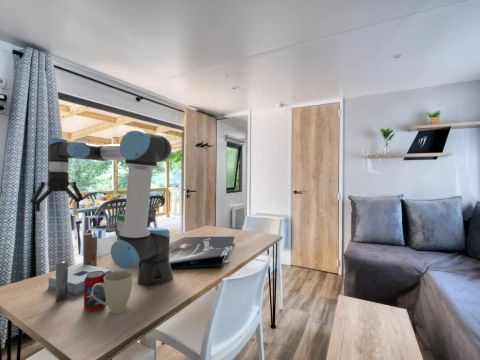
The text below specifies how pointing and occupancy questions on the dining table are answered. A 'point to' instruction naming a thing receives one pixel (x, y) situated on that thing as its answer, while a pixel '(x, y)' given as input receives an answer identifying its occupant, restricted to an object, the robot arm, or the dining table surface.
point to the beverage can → (99, 292)
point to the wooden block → (90, 250)
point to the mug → (116, 290)
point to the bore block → (77, 278)
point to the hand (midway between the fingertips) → (58, 216)
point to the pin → (61, 281)
